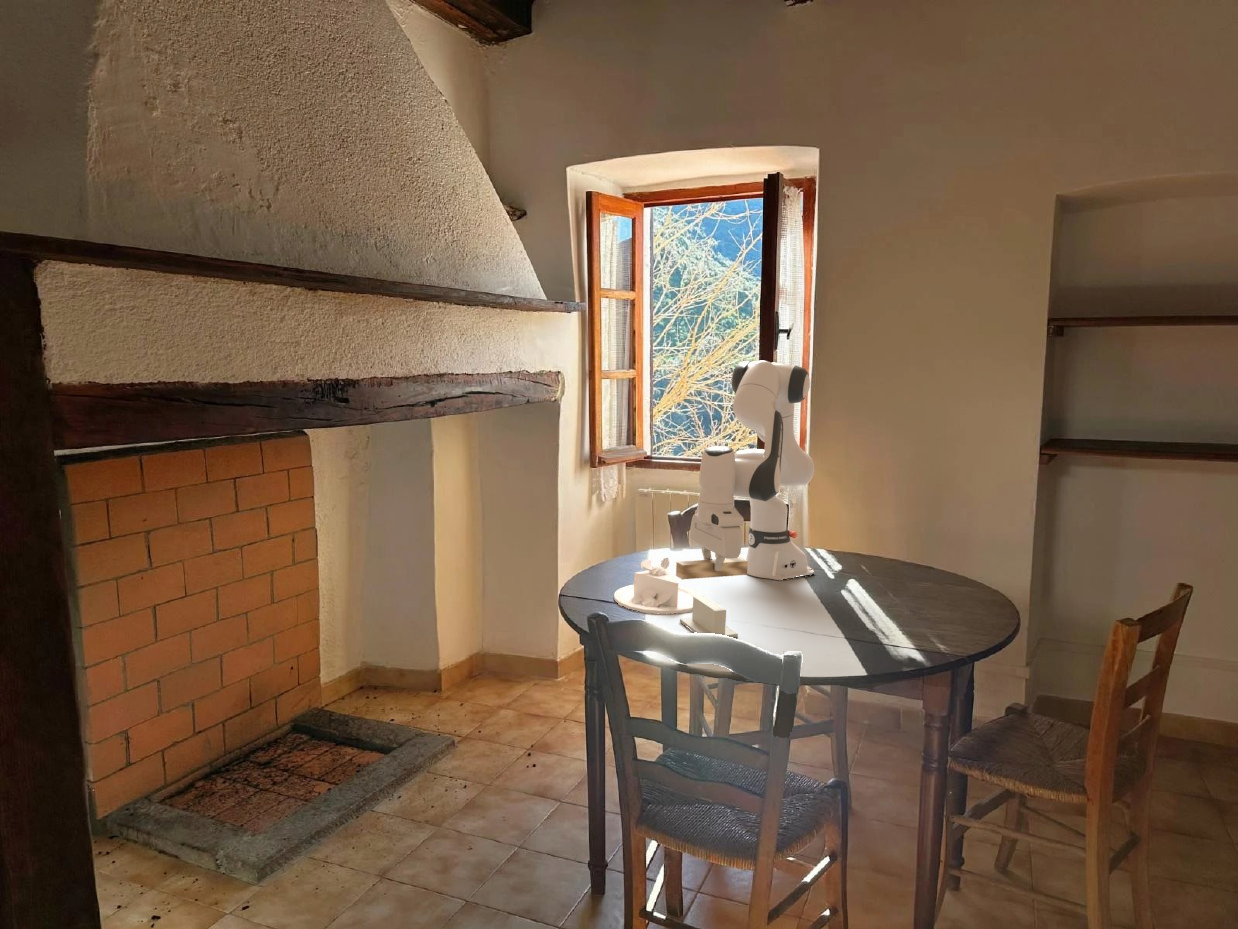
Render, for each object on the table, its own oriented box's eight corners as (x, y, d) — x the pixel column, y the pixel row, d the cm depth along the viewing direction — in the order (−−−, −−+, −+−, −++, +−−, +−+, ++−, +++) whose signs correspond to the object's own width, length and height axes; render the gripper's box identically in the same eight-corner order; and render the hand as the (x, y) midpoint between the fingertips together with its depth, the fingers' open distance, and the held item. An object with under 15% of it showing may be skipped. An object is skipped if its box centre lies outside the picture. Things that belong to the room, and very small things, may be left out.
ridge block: (711, 619, 214) (712, 593, 213) (737, 637, 202) (739, 610, 201) (679, 622, 211) (680, 596, 210) (704, 641, 198) (706, 613, 197)
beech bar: (740, 571, 209) (740, 557, 209) (747, 574, 206) (747, 561, 205) (675, 575, 202) (676, 561, 202) (682, 579, 199) (682, 565, 199)
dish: (597, 594, 234) (598, 555, 232) (671, 583, 246) (672, 546, 245) (644, 620, 213) (645, 578, 211) (721, 607, 226) (723, 567, 224)
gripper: (685, 505, 211) (682, 558, 212) (724, 521, 192) (720, 579, 194) (707, 504, 213) (704, 557, 215) (747, 520, 194) (744, 577, 196)
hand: (712, 567), depth 204 cm, fingers closed on beech bar, 3 cm apart
